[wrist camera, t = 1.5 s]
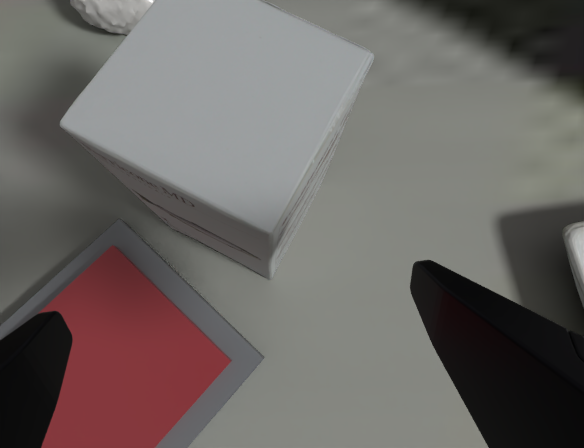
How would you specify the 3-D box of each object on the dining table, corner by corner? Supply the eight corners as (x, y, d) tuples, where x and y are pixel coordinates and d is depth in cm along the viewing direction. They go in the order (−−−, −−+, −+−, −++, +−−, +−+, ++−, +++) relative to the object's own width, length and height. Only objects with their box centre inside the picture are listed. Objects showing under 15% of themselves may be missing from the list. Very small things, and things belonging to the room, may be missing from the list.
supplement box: (168, 229, 22) (42, 119, 10) (228, 137, 24) (184, -49, 12) (271, 285, 22) (270, 241, 9) (324, 186, 24) (381, 44, 11)
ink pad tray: (100, 546, 18) (87, 564, 16) (-46, 376, 19) (-70, 380, 18) (264, 357, 20) (263, 359, 19) (124, 221, 22) (114, 215, 21)
